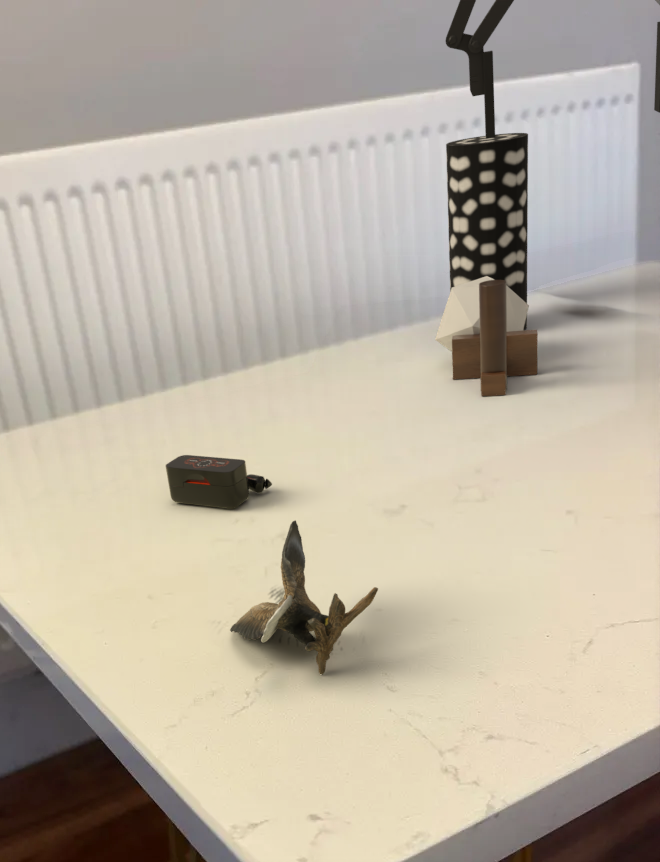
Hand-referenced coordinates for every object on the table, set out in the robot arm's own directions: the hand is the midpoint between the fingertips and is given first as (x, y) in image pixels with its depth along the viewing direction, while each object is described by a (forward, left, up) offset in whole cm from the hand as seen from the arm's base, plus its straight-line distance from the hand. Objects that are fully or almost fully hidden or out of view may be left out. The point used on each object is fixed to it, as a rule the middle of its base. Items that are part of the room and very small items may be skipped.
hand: (574, 124), depth 86 cm
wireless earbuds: (+37, +5, -22) cm, 44 cm away
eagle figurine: (+42, +29, -22) cm, 56 cm away
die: (+1, -12, -22) cm, 25 cm away
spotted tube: (-7, -22, -22) cm, 32 cm away
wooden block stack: (+5, -5, -22) cm, 23 cm away
